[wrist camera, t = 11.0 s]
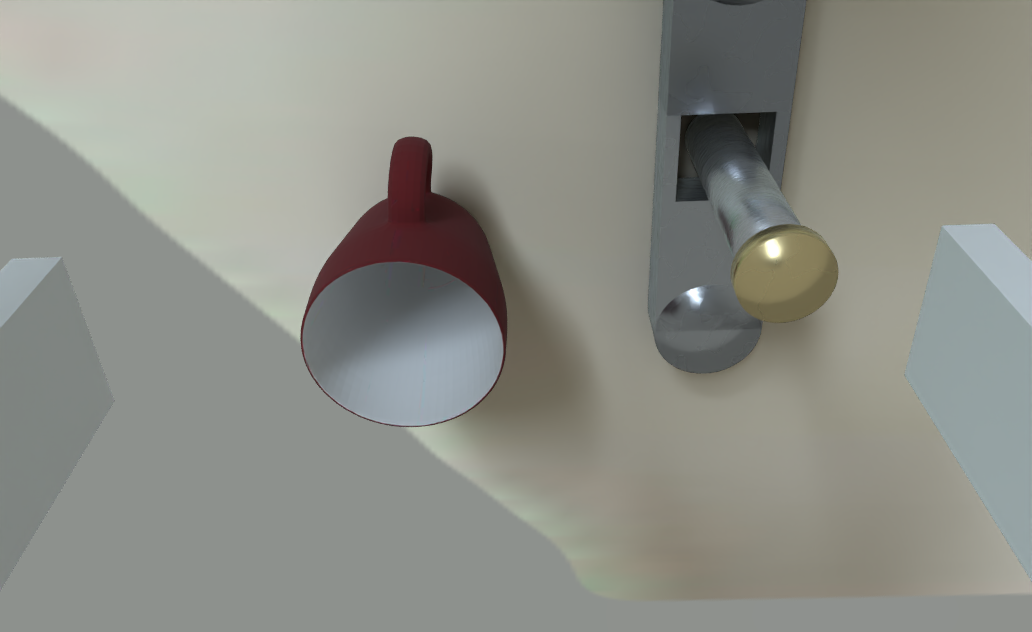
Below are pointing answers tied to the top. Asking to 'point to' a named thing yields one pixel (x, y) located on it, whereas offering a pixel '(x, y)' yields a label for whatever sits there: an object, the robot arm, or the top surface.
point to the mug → (408, 306)
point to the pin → (759, 225)
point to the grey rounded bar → (682, 201)
